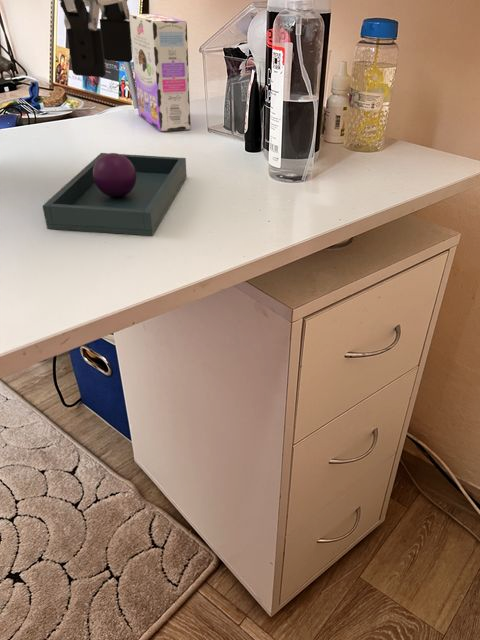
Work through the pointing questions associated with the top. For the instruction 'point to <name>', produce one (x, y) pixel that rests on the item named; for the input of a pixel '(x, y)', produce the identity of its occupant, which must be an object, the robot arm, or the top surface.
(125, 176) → the grape
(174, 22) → the candy box
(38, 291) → the top surface
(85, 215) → the tray
